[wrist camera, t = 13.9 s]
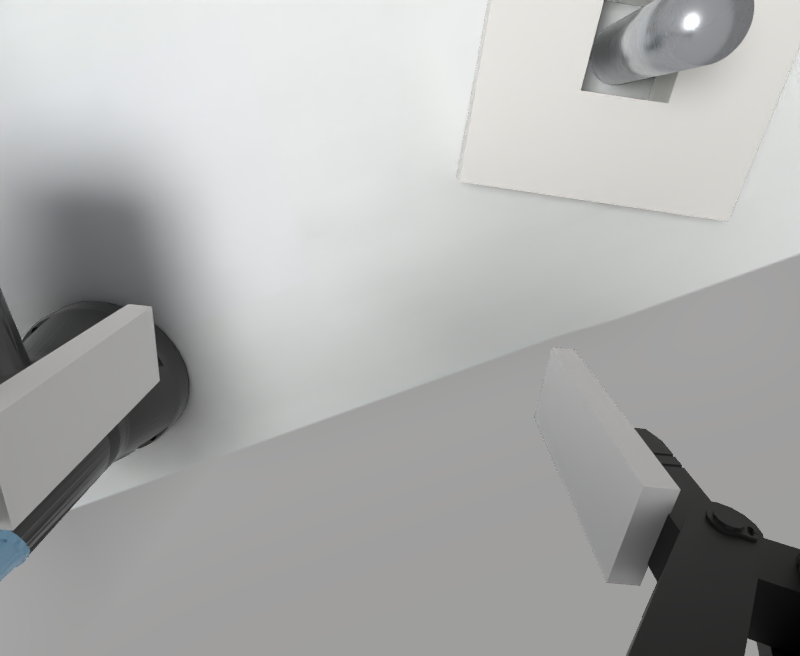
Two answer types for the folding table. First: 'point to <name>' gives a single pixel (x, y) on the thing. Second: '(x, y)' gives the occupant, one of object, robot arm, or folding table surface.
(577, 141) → the socket block
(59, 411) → the robot arm
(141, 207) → the folding table surface
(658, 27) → the steel pin
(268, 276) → the folding table surface
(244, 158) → the folding table surface
